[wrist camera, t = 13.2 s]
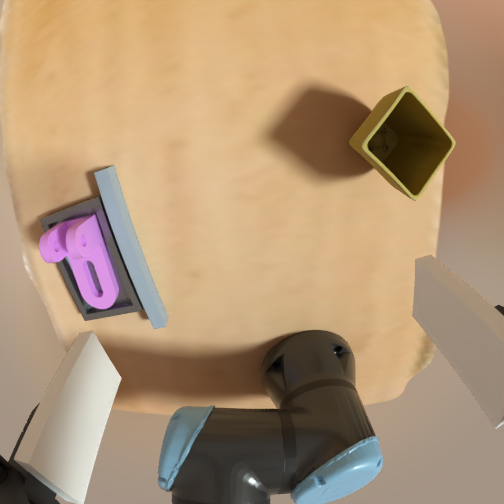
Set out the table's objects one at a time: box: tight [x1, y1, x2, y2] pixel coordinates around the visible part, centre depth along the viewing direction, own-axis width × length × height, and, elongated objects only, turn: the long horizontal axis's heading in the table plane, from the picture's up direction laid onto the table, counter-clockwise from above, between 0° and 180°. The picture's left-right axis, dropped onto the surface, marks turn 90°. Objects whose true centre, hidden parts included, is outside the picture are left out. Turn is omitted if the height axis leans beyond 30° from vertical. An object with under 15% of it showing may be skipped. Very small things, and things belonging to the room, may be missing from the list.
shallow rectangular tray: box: [40, 195, 144, 321], centre depth 37 cm, size 16×10×2 cm, turn 13°
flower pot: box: [349, 86, 455, 201], centre depth 30 cm, size 9×9×9 cm
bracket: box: [39, 213, 119, 309], centre depth 34 cm, size 13×6×7 cm, turn 7°
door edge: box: [94, 166, 168, 329], centre depth 37 cm, size 22×2×2 cm, turn 13°
